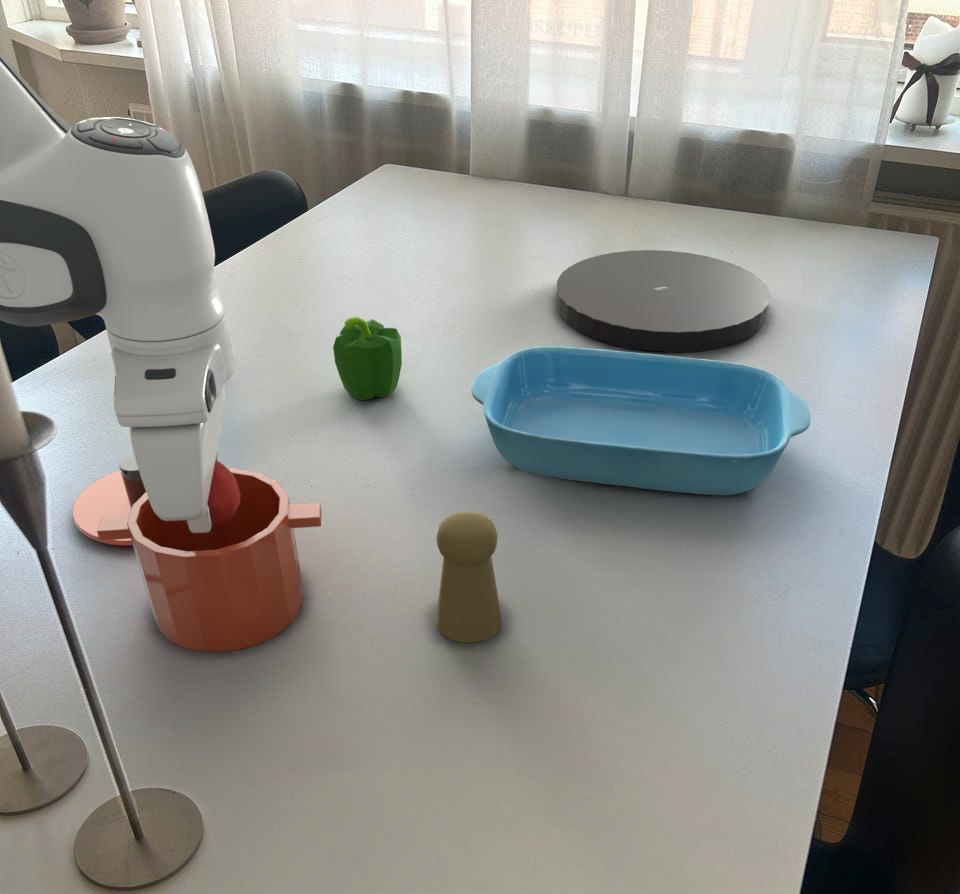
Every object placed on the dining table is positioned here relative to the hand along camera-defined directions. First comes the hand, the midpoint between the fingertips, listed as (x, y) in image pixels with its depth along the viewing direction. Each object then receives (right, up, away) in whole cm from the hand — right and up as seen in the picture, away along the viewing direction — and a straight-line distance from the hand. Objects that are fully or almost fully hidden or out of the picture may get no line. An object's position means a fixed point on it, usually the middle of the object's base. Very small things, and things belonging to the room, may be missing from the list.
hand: (206, 504), depth 86 cm
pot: (0, -8, +7) cm, 11 cm away
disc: (+50, +36, +58) cm, 84 cm away
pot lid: (-12, +2, +19) cm, 22 cm away
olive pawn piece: (+23, -10, +5) cm, 25 cm away
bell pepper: (+10, +19, +39) cm, 45 cm away
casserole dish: (+41, +10, +28) cm, 51 cm away
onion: (0, -2, +2) cm, 3 cm away
